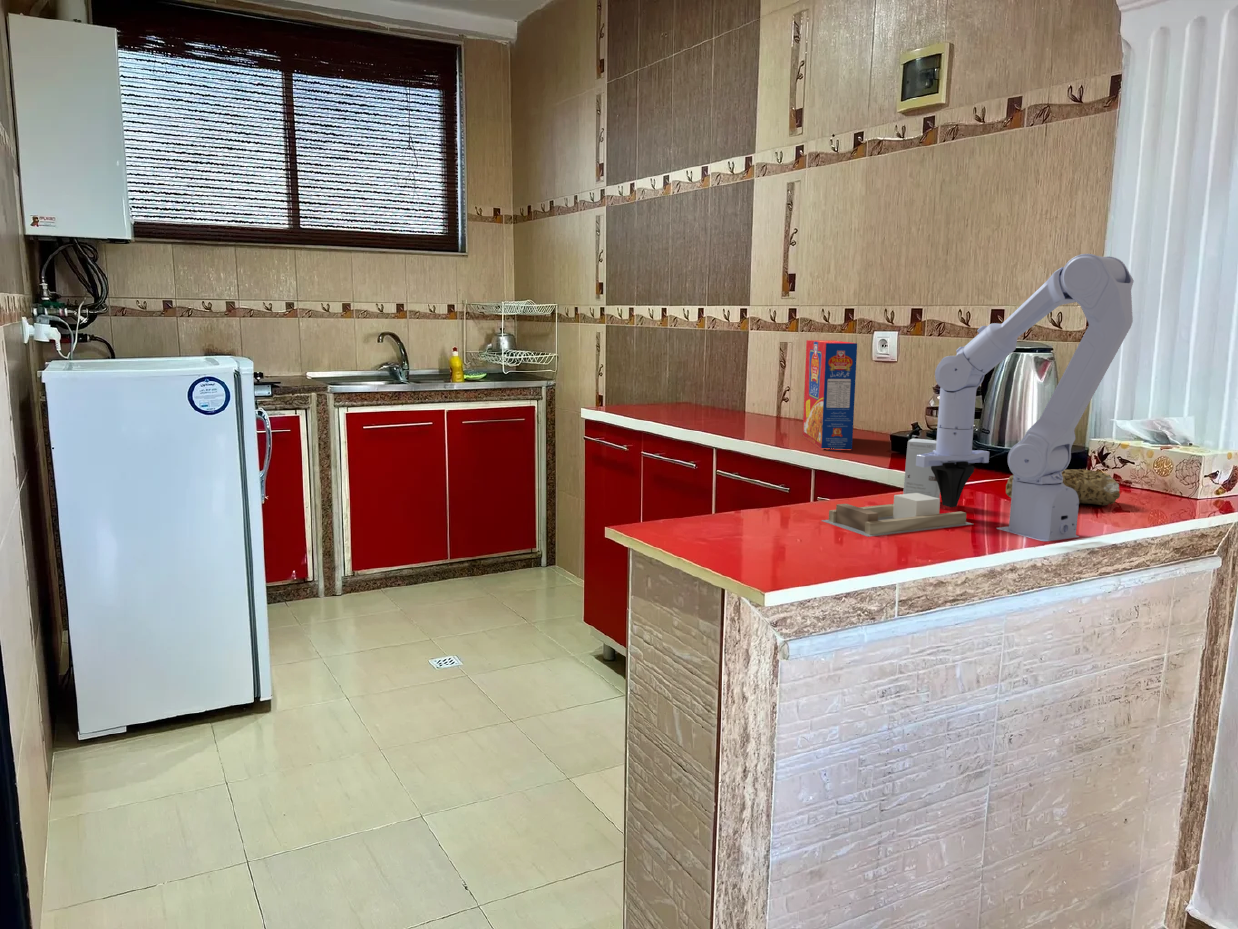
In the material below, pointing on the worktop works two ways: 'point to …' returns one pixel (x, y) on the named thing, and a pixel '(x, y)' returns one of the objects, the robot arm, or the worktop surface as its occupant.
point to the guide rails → (870, 524)
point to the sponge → (1086, 486)
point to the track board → (889, 532)
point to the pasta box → (829, 393)
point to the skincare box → (920, 470)
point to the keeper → (915, 505)
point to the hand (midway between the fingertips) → (949, 506)
